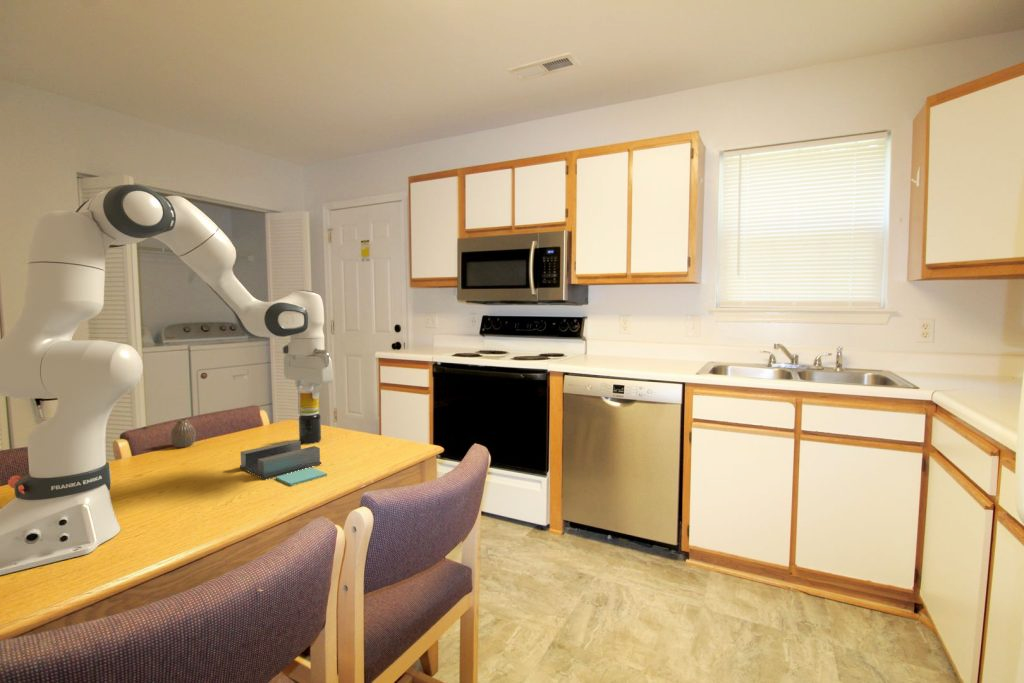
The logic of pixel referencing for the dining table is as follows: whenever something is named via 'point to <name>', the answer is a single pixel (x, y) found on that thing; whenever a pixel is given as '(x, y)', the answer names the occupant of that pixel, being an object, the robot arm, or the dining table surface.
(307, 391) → the supplement bottle
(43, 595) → the dining table surface
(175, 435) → the vase
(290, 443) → the slot housing
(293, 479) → the teal mat
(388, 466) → the dining table surface
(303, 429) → the supplement bottle
